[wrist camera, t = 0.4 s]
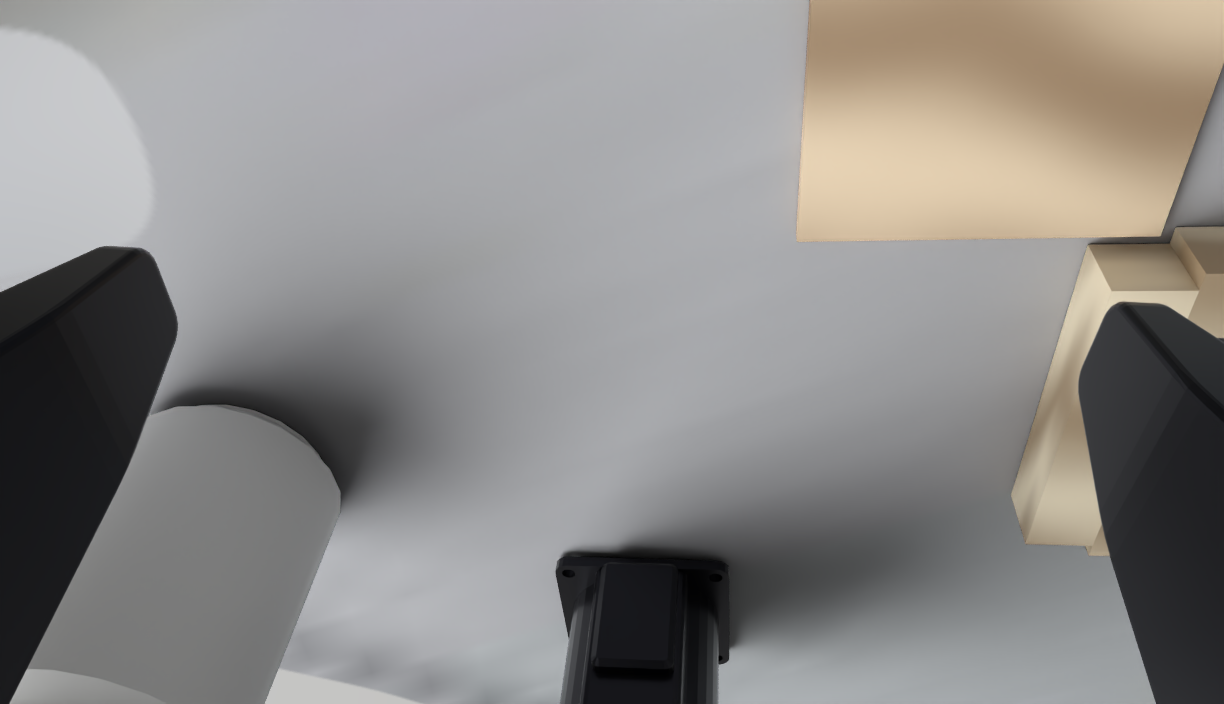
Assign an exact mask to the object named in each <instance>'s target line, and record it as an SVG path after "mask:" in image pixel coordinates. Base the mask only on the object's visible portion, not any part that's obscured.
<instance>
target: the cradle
mask: <svg viewBox="0 0 1224 704" xmlns="http://www.w3.org/2000/svg"><path fill="white" fill-rule="evenodd" d="M1122 301H1125V302H1144V303H1160V304H1164V305H1167V306H1168V307H1170V308H1172V309H1173V310H1175V311H1176V312H1178V313H1179V314H1181V315H1183V316H1184V317H1186V318H1187V319H1189V320H1190V321H1192V322H1193V323H1195V324H1196V325H1198V326H1199V327H1201V328H1203V329H1204V330H1206V331H1207V332H1209V333H1210V334H1212V335H1213V336H1215V337H1216V338H1224V226H1222V227H1176V228H1175V231H1174V233H1173V236H1172V239H1171V241H1170V244H1102V245H1088V246H1087V249H1086V252H1085V255H1084V259H1083V262H1082V265H1081V268H1080V272H1079V275H1078V278H1077V281H1076V285H1075V288H1074V291H1073V295H1072V298H1071V301H1070V304H1069V308H1068V311H1067V314H1066V317H1065V321H1064V324H1063V327H1062V330H1061V334H1060V337H1059V340H1058V343H1057V347H1056V350H1055V353H1054V356H1053V360H1052V363H1051V366H1050V369H1049V373H1048V376H1047V379H1046V382H1045V386H1044V389H1043V392H1042V396H1041V399H1040V402H1039V405H1038V409H1037V412H1036V415H1035V418H1034V422H1033V425H1032V428H1031V431H1030V435H1029V438H1028V441H1027V444H1026V448H1025V451H1024V454H1023V457H1022V461H1021V464H1020V467H1019V470H1018V474H1017V477H1016V480H1015V484H1014V487H1013V490H1012V493H1011V497H1012V500H1013V504H1014V507H1015V510H1016V514H1017V517H1018V521H1019V524H1020V527H1021V531H1022V534H1023V537H1024V541H1025V544H1038V545H1079V546H1085V547H1086V550H1087V553H1088V555H1089V556H1110V554H1109V551H1108V547H1107V543H1106V540H1105V536H1104V532H1103V527H1102V522H1101V518H1100V513H1099V507H1098V502H1097V496H1096V491H1095V485H1094V479H1093V474H1092V468H1091V463H1090V457H1089V452H1088V446H1087V440H1086V435H1085V429H1084V424H1083V418H1082V412H1081V407H1080V401H1079V395H1078V380H1079V375H1080V371H1081V368H1082V365H1083V363H1084V361H1085V358H1086V356H1087V354H1088V352H1089V349H1090V347H1091V345H1092V343H1093V340H1094V338H1095V336H1096V334H1097V331H1098V329H1099V327H1100V325H1101V322H1102V320H1103V318H1104V316H1105V314H1106V312H1107V311H1108V309H1109V308H1110V307H1111V306H1112V305H1114V304H1116V303H1118V302H1122Z"/></svg>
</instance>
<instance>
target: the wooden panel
mask: <svg viewBox="0 0 1224 704" xmlns="http://www.w3.org/2000/svg"><path fill="white" fill-rule="evenodd" d="M1223 64H1224V0H810V3H809V20H808V38H807V55H806V72H805V89H804V106H803V123H802V141H801V158H800V175H799V192H798V209H797V227H796V237H797V242H818V241H885V240H953V239H1020V238H1087V237H1155V236H1161V233H1162V231H1163V228H1164V225H1165V222H1166V220H1167V217H1168V214H1169V211H1170V209H1171V206H1172V203H1173V201H1174V198H1175V195H1176V192H1177V190H1178V187H1179V184H1180V181H1181V179H1182V176H1183V173H1184V170H1185V168H1186V165H1187V162H1188V160H1189V157H1190V154H1191V151H1192V149H1193V146H1194V143H1195V140H1196V138H1197V135H1198V132H1199V129H1200V127H1201V124H1202V121H1203V119H1204V116H1205V113H1206V110H1207V108H1208V105H1209V102H1210V99H1211V97H1212V94H1213V91H1214V88H1215V86H1216V83H1217V80H1218V78H1219V75H1220V72H1221V69H1222V67H1223Z"/></svg>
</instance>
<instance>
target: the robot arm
mask: <svg viewBox="0 0 1224 704" xmlns="http://www.w3.org/2000/svg"><path fill="white" fill-rule="evenodd" d="M177 331H178V322H177V316H176V312H175V310H174V307H173V305H172V302H171V299H170V297H169V294H168V292H167V289H166V287H165V284H164V282H163V279H162V276H161V274H160V271H159V269H158V266H157V264H156V262H155V260H154V258H153V256H152V255H151V254H150V253H149V252H148V251H146V250H144V249H142V248H135V247H118V246H104V247H99V248H96V249H94V250H92V251H90V252H88V253H85V254H83V255H81V256H79V257H77V258H74V259H72V260H70V261H68V262H66V263H63V264H61V265H59V266H57V267H55V268H52V269H50V270H48V271H46V272H44V273H41V274H39V275H37V276H35V277H33V278H30V279H28V280H26V281H24V282H22V283H20V284H17V285H15V286H13V287H11V288H9V289H6V290H4V291H2V292H0V704H10V702H11V700H12V698H13V696H14V694H15V692H16V690H17V688H18V686H19V684H20V682H21V680H22V678H23V676H24V674H25V672H26V670H27V668H28V666H29V664H30V662H31V660H32V658H33V656H34V654H35V652H36V650H37V648H38V646H39V644H40V642H41V640H42V638H43V637H44V635H45V633H46V631H47V629H48V627H49V625H50V623H51V621H52V619H53V617H54V615H55V613H56V611H57V609H58V607H59V605H60V603H61V601H62V599H63V597H64V595H65V593H66V591H67V589H68V587H69V585H70V583H71V581H72V579H73V577H74V575H75V573H76V571H77V569H78V567H79V565H80V563H81V561H82V559H83V557H84V555H85V553H86V551H87V549H88V547H89V545H90V543H91V542H92V540H93V538H94V536H95V534H96V532H97V530H98V528H99V526H100V524H101V522H102V520H103V518H104V516H105V514H106V512H107V510H108V508H109V506H110V504H111V502H112V500H113V498H114V496H115V494H116V492H117V490H118V488H119V486H120V484H121V482H122V479H123V477H124V475H125V473H126V471H127V469H128V467H129V464H130V462H131V459H132V457H133V454H134V452H135V450H136V447H137V445H138V442H139V439H140V436H141V434H142V431H143V428H144V425H145V423H146V420H147V417H148V415H149V412H150V409H151V406H152V404H153V401H154V398H155V396H156V393H157V390H158V387H159V385H160V382H161V379H162V377H163V374H164V371H165V368H166V366H167V363H168V360H169V357H170V355H171V352H172V349H173V347H174V344H175V341H176V337H177ZM1078 395H1079V401H1080V407H1081V412H1082V418H1083V424H1084V429H1085V435H1086V440H1087V446H1088V452H1089V457H1090V463H1091V468H1092V474H1093V479H1094V485H1095V491H1096V496H1097V502H1098V507H1099V513H1100V518H1101V522H1102V527H1103V532H1104V536H1105V540H1106V543H1107V547H1108V551H1109V554H1110V558H1111V561H1112V564H1113V568H1114V571H1115V574H1116V577H1117V580H1118V583H1119V587H1120V590H1121V593H1122V596H1123V599H1124V603H1125V606H1126V609H1127V612H1128V615H1129V619H1130V622H1131V625H1132V628H1133V631H1134V635H1135V638H1136V641H1137V644H1138V647H1139V650H1140V654H1141V657H1142V660H1143V663H1144V666H1145V670H1146V673H1147V676H1148V679H1149V682H1150V686H1151V689H1152V692H1153V695H1154V698H1155V701H1156V704H1224V342H1223V341H1221V340H1220V339H1218V338H1216V337H1215V336H1213V335H1212V334H1210V333H1209V332H1207V331H1206V330H1204V329H1203V328H1201V327H1199V326H1198V325H1196V324H1195V323H1193V322H1192V321H1190V320H1189V319H1187V318H1186V317H1184V316H1183V315H1181V314H1179V313H1178V312H1176V311H1175V310H1173V309H1172V308H1170V307H1168V306H1167V305H1164V304H1160V303H1144V302H1125V301H1122V302H1118V303H1116V304H1114V305H1112V306H1111V307H1110V308H1109V309H1108V311H1107V312H1106V314H1105V316H1104V318H1103V320H1102V322H1101V325H1100V327H1099V329H1098V331H1097V334H1096V336H1095V338H1094V340H1093V343H1092V345H1091V347H1090V349H1089V352H1088V354H1087V356H1086V358H1085V361H1084V363H1083V365H1082V368H1081V371H1080V375H1079V380H1078ZM556 578H557V583H558V588H559V593H560V598H561V603H562V608H563V612H564V617H565V622H566V627H567V632H568V637H569V644H568V651H567V658H566V665H565V672H564V679H563V686H562V693H561V700H560V704H718V664H724V663H726V662H727V661H728V660H729V567H728V566H727V565H726V564H725V563H723V562H721V561H707V560H670V559H633V558H596V557H563V558H561V559H559V560H558V561H557V567H556Z"/></svg>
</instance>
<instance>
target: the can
mask: <svg viewBox="0 0 1224 704" xmlns="http://www.w3.org/2000/svg"><path fill="white" fill-rule="evenodd" d="M340 504H341V492H340V490H339V488H338V485H337V483H336V481H335V479H334V477H333V475H332V472H331V470H330V469H329V468H328V467H327V466H326V465H325V463H324V462H323V461H322V460H321V458H320V456H319V454H318V453H317V452H316V450H315V449H314V448H313V447H312V446H311V445H310V444H309V443H308V442H307V441H306V440H305V438H304V437H303V436H301V435H300V434H298V433H297V432H295V431H294V430H292V429H291V428H290V427H288V426H287V425H285V424H284V423H282V422H281V421H279V420H276V419H274V418H271V417H269V416H267V415H264V414H262V413H260V412H257V411H255V410H251V409H246V408H241V407H236V406H231V405H227V404H225V405H199V406H180V407H174V408H171V409H168V410H164V411H161V412H158V413H155V414H152V415H150V416H149V417H148V418H147V420H146V423H145V425H144V428H143V431H142V434H141V436H140V439H139V442H138V445H137V447H136V450H135V452H134V454H133V457H132V459H131V462H130V464H129V467H128V469H127V471H126V473H125V475H124V477H123V479H122V482H121V484H120V486H119V488H118V490H117V492H116V494H115V496H114V498H113V500H112V502H111V504H110V506H109V508H108V510H107V512H106V514H105V516H104V518H103V520H102V522H101V524H100V526H99V528H98V530H97V532H96V534H95V536H94V538H93V540H92V542H91V543H90V545H89V547H88V549H87V551H86V553H85V555H84V557H83V559H82V561H81V563H80V565H79V567H78V569H77V571H76V573H75V575H74V577H73V579H72V581H71V583H70V585H69V587H68V589H67V591H66V593H65V595H64V597H63V599H62V601H61V603H60V605H59V607H58V609H57V611H56V613H55V615H54V617H53V619H52V621H51V623H50V625H49V627H48V629H47V631H46V633H45V635H44V637H43V638H42V640H41V642H40V644H39V646H38V648H37V650H36V652H35V654H34V656H33V658H32V660H31V662H30V664H29V666H28V668H27V670H26V672H25V674H24V676H23V678H22V680H21V682H20V684H19V686H18V688H17V690H16V692H15V694H14V696H13V698H12V700H11V702H10V704H265V701H266V699H267V696H268V694H269V691H270V688H271V686H272V684H273V681H274V678H275V676H276V673H277V671H278V668H279V666H280V663H281V661H282V658H283V656H284V653H285V651H286V648H287V646H288V643H289V641H290V638H291V636H292V633H293V631H294V628H295V626H296V623H297V621H298V618H299V616H300V613H301V611H302V608H303V606H304V603H305V600H306V598H307V595H308V593H309V590H310V588H311V585H312V583H313V580H314V578H315V575H316V573H317V570H318V568H319V565H320V563H321V560H322V558H323V555H324V553H325V550H326V548H327V545H328V543H329V540H330V537H331V535H332V532H333V530H334V527H335V525H336V522H337V520H338V517H339V515H340Z"/></svg>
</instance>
